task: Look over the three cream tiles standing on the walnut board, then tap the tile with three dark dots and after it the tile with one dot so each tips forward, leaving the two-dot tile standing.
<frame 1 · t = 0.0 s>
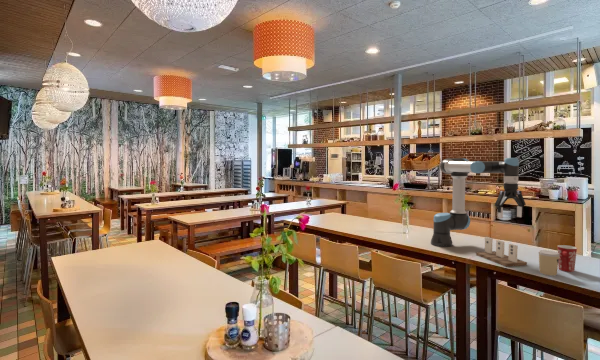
hand: (509, 217, 211), 28 cm above the table, tool pointing down, fingers open, 13 cm apart
coffee cup: (548, 273, 191), on the table
tile 2: (499, 248, 217), point 7 cm above the table, hinge at 0.0°
tap board: (500, 259, 217), on the table
tile 1: (488, 245, 227), point 7 cm above the table, hinge at 0.0°
mug: (565, 270, 196), on the table
tile 3: (512, 253, 207), point 7 cm above the table, hinge at 0.0°
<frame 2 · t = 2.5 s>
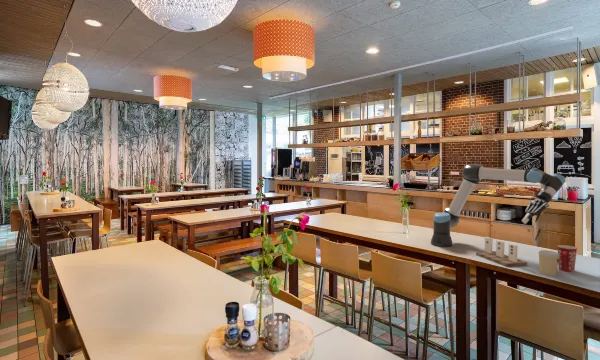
hand: (523, 222, 216), 24 cm above the table, tool tilted 45°, fingers closed
nothing on the table moved.
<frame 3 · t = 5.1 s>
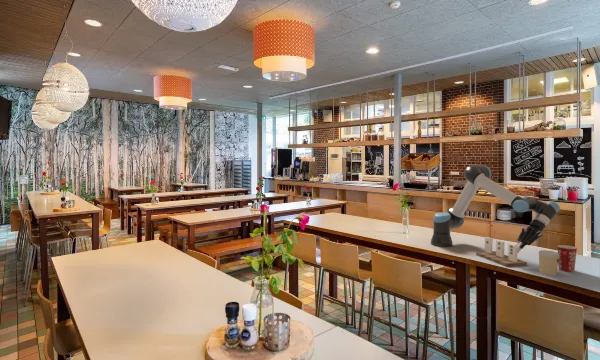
hand: (515, 251, 207), 8 cm above the table, tool tilted 45°, fingers closed
tile 3: (512, 253, 207), point 7 cm above the table, hinge at 1.6°, touching gripper
everything else where it was.
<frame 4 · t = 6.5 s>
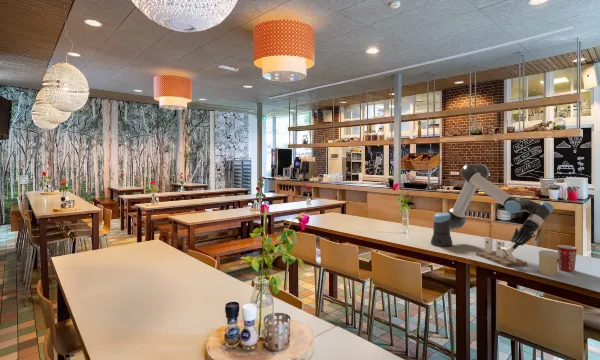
hand: (508, 251, 206), 8 cm above the table, tool tilted 45°, fingers closed
tile 3: (508, 254, 206), point 6 cm above the table, hinge at 37.9°, touching gripper
everything else where it was.
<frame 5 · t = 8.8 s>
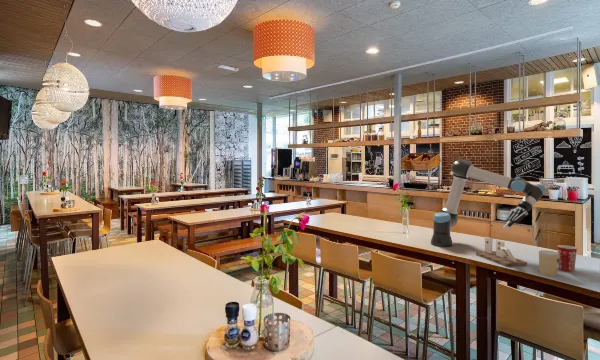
hand: (504, 229, 226), 17 cm above the table, tool tilted 45°, fingers closed
tile 3: (508, 254, 206), point 6 cm above the table, hinge at 37.9°
everything else where it was.
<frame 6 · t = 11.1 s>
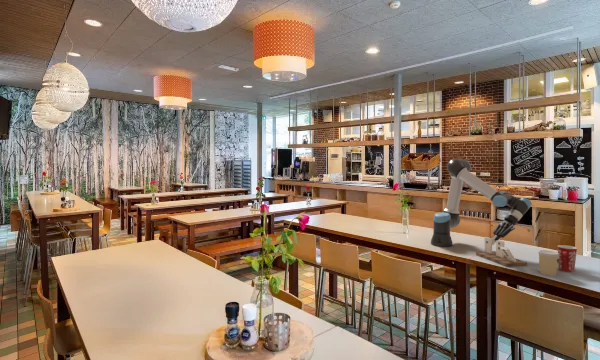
hand: (491, 243, 227), 8 cm above the table, tool tilted 45°, fingers closed
tile 1: (488, 245, 227), point 7 cm above the table, hinge at 2.2°, touching gripper
everything else where it was.
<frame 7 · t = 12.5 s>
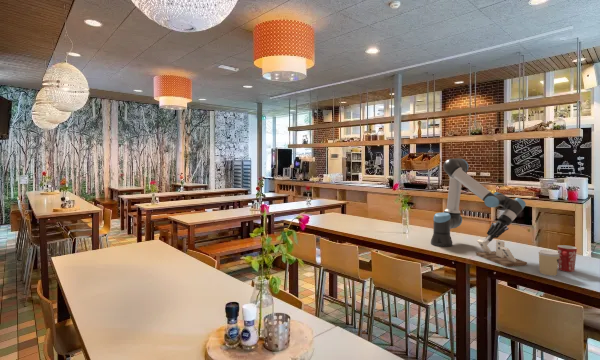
hand: (484, 243, 226), 8 cm above the table, tool tilted 45°, fingers closed
tile 1: (484, 246, 226), point 6 cm above the table, hinge at 38.1°, touching gripper
everything else where it was.
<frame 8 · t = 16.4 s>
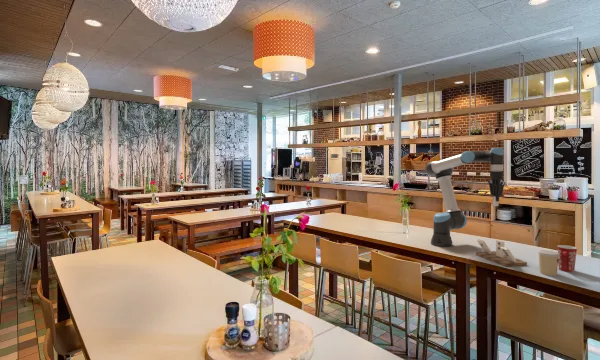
hand: (495, 205, 231), 32 cm above the table, tool pointing down, fingers closed
tile 1: (484, 246, 226), point 6 cm above the table, hinge at 38.2°
everything else where it was.
at the end: tile 3 at +38° (first picture: +0°); tile 1 at +38° (first picture: +0°); tile 2 at +0° (first picture: +0°) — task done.
